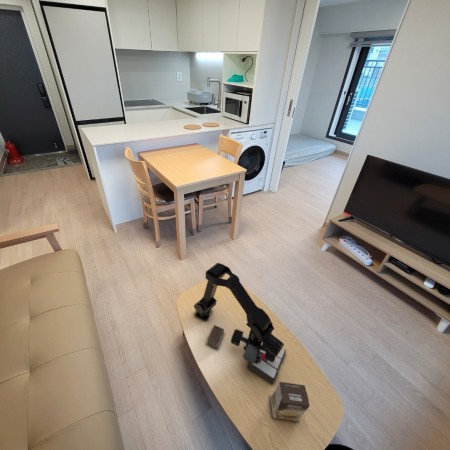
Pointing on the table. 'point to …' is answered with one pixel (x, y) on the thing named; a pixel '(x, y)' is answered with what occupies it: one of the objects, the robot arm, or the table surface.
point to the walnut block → (215, 337)
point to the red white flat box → (268, 366)
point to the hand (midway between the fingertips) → (250, 354)
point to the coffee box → (289, 401)
